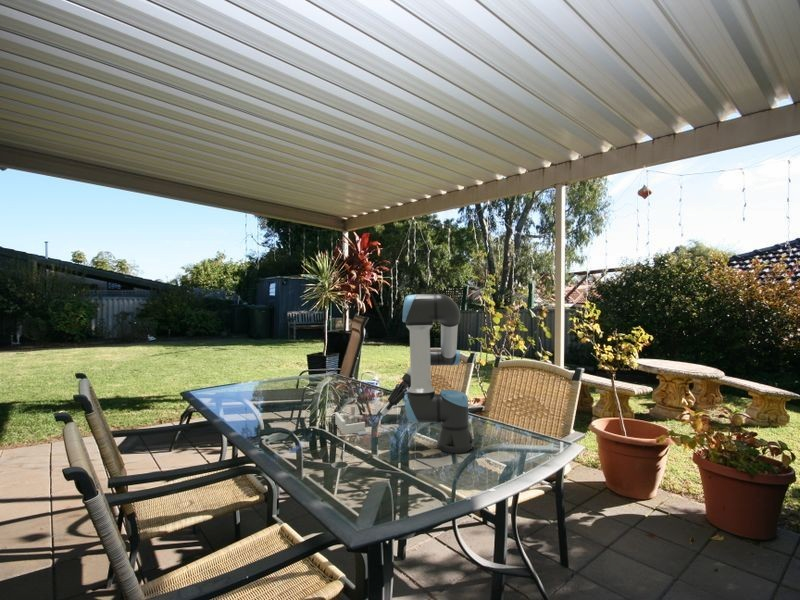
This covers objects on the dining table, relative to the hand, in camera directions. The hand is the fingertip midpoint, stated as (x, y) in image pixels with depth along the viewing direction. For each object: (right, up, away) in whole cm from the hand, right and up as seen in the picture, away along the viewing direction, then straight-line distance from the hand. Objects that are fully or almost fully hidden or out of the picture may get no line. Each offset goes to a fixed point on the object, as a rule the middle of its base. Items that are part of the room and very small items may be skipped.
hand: (382, 413), depth 213 cm
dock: (-16, -5, -6) cm, 17 cm away
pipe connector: (-14, -5, -4) cm, 16 cm away
